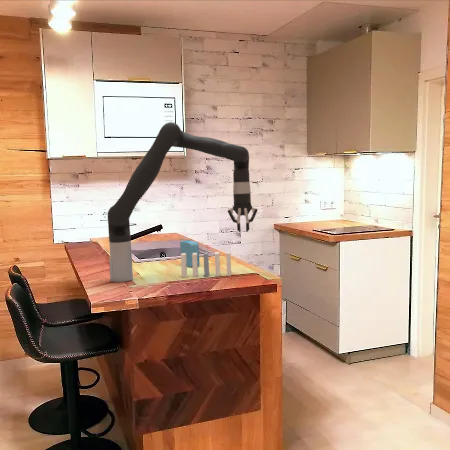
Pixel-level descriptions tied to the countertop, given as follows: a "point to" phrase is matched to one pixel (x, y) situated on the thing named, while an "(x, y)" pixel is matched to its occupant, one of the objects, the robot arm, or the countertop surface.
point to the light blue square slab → (189, 251)
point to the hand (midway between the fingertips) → (243, 231)
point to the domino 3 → (206, 264)
